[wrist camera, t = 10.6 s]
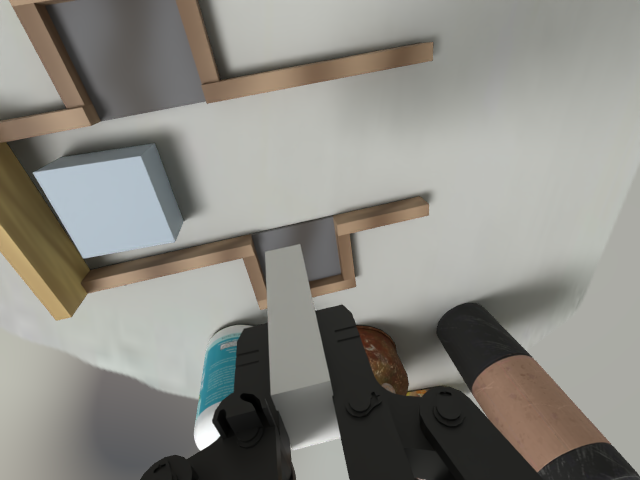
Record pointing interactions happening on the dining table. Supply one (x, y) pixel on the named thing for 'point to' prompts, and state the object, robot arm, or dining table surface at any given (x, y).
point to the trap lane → (152, 95)
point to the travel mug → (527, 401)
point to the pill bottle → (216, 381)
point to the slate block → (113, 199)
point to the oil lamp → (384, 360)
